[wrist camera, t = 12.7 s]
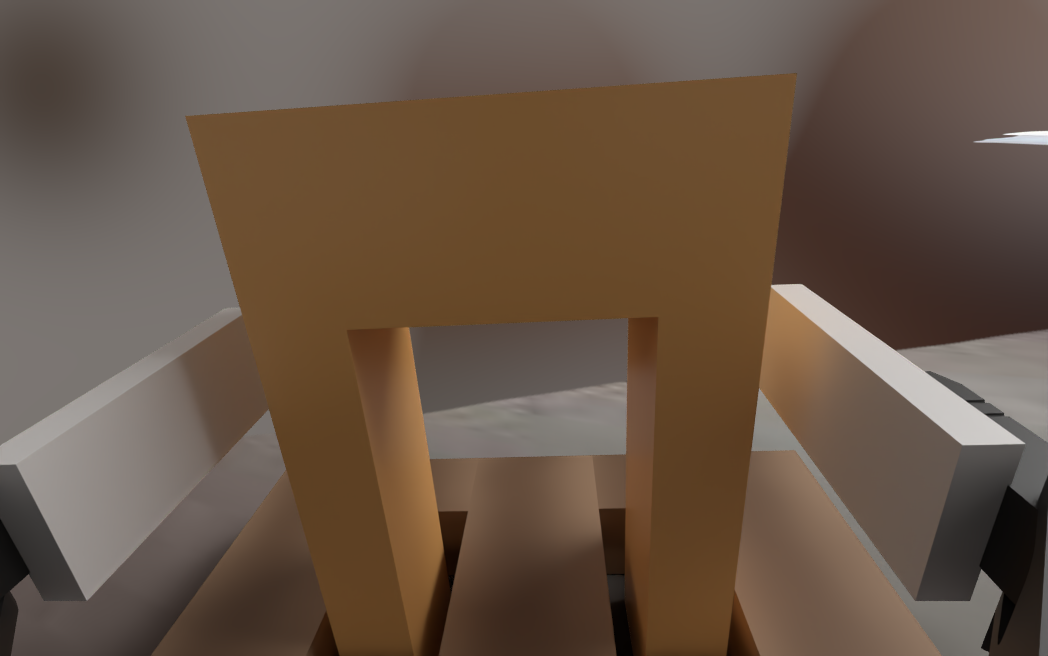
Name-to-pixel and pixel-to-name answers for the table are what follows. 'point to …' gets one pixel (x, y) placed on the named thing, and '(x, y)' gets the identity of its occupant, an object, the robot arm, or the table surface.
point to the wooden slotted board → (564, 569)
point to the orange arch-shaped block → (507, 315)
